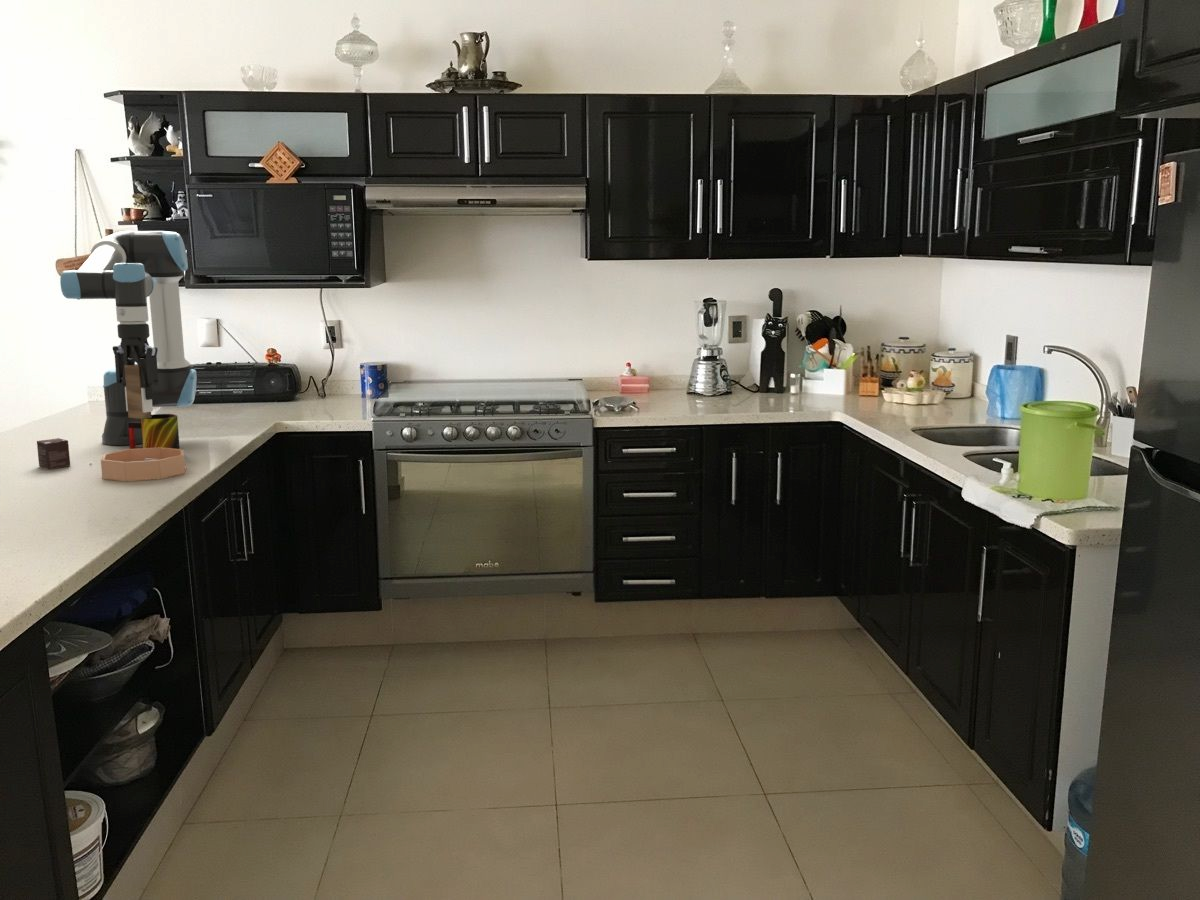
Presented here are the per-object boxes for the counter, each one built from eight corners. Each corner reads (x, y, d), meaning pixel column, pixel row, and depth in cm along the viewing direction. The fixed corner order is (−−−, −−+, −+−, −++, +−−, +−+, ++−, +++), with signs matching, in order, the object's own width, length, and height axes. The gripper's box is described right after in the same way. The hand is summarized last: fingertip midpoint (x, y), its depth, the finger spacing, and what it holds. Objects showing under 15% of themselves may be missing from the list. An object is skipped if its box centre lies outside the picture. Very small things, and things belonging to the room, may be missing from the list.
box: (61, 463, 285) (59, 437, 283) (71, 466, 281) (68, 440, 280) (38, 466, 280) (36, 440, 279) (48, 469, 276) (45, 443, 275)
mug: (131, 455, 296) (127, 415, 294) (182, 453, 300) (179, 413, 298) (125, 462, 287) (122, 420, 285) (178, 459, 291) (175, 418, 289)
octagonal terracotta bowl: (146, 462, 286) (145, 445, 285) (202, 469, 278) (201, 451, 277) (84, 476, 268) (83, 458, 267) (142, 483, 260) (141, 464, 259)
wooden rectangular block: (137, 416, 272) (133, 364, 270) (151, 417, 270) (147, 364, 268) (128, 417, 269) (124, 365, 267) (142, 419, 268) (138, 365, 265)
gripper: (95, 322, 266) (103, 411, 270) (147, 324, 259) (153, 415, 263) (119, 321, 272) (126, 407, 276) (170, 323, 265) (176, 411, 269)
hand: (139, 411), depth 270 cm, fingers closed on wooden rectangular block, 5 cm apart
